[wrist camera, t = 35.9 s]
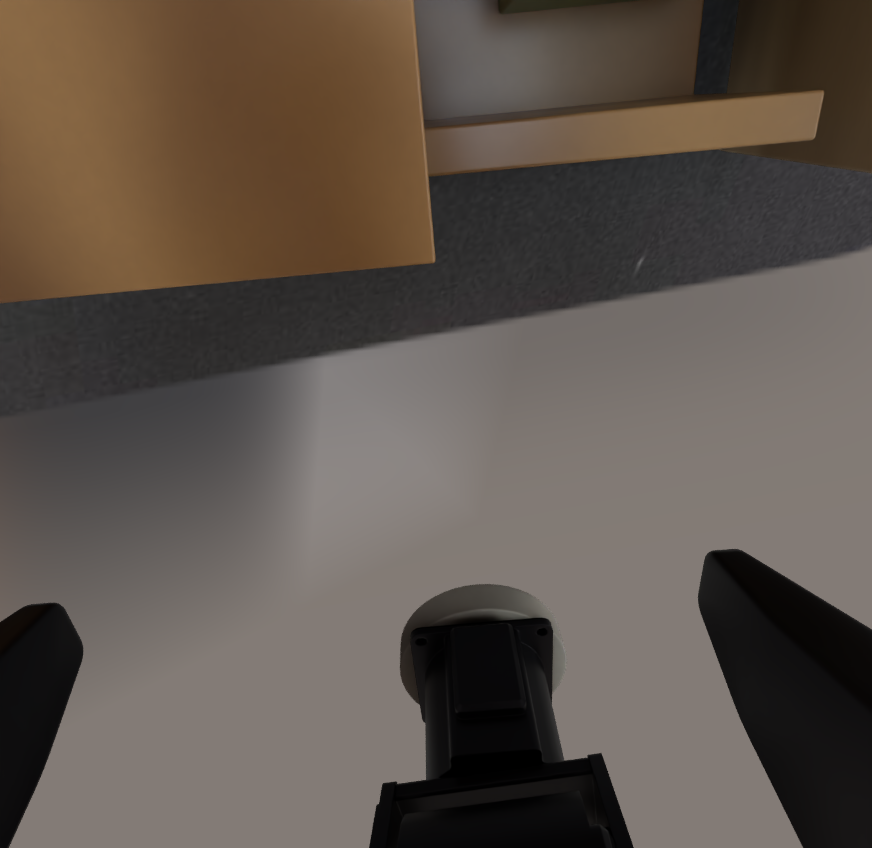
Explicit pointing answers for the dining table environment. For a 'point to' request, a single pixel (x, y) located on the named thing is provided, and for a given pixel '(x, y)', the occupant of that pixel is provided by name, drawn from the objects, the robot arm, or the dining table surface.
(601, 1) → the block
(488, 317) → the dining table surface
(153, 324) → the dining table surface
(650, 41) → the drawer
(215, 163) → the cabinet
